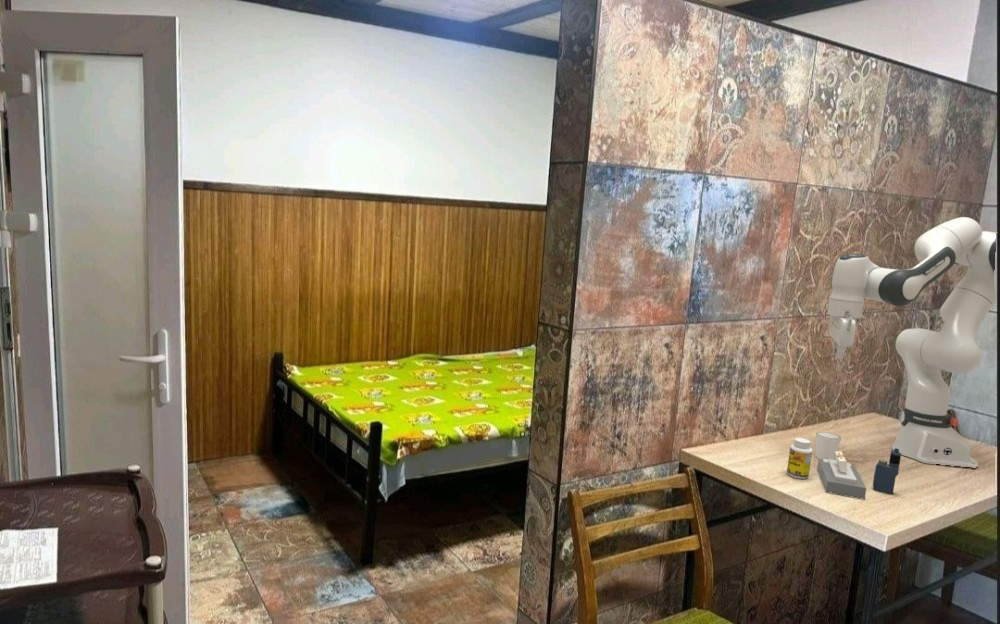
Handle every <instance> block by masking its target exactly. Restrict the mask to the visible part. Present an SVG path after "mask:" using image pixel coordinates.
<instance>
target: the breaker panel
mask: <svg viewBox="0 0 1000 624" xmlns="http://www.w3.org/2000/svg"><path fill="white" fill-rule="evenodd" d="M846 463H847V470H848V472H841V471H840V469H839V466H838V465H837V462H836V460H832V459H828V460H827V459H819V458H818V461H817V467H816V468H817V472H818V474H819V477H820V481H821V482H822V485H824V486H823V488H825V489H824V491H825V490H826V491H825V493H827V492H832V493H831V494H833V493H837V494H836V495H838V494H842V495H841V496H844V495H847V496H846V497H849V496H853V497H852V498H854V497H858V498H857V499H860V498H863V499H862V500H865V499H866V492H867V486H866V485H865V483H864V481H863V479H862V477H861V476H860V473H859V472H858V470H857V467H856V465H855V464H852V463H850V462H848V461H846Z"/></svg>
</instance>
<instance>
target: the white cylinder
mask: <svg viewBox="0 0 1000 624" xmlns="http://www.w3.org/2000/svg"><path fill="white" fill-rule="evenodd" d="M841 440H842V437H841V436H840V435H838V434H835V433H832V432H827V431H816V432H815V445H814V446H815V447H814V456H815V457H816V458H817V459H818V460H819V459H827V460H828V459H832V460H836V456H835V452H836V451H839V448H840V444H841Z"/></svg>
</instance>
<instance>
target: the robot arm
mask: <svg viewBox="0 0 1000 624" xmlns="http://www.w3.org/2000/svg"><path fill="white" fill-rule="evenodd" d="M996 233H997V232H995V231H988V230H987V231H986V230H982V227H981V225H980V224H979V222H977V220H975V219H973V218H971V217H966V216H961V217H960V216H959V217H957V218H952V219H950V220H947V221H945V222H943V223H940V224H938V225H936V226H934V227H933V228H931V229H929V230H927V231H925V232H924V233H923V234H921V235H920V236H919V237H918V238H917V239H916V240H915V243H914V255H915V258H916V259H917V261H918V262H919V263H918V264H916V265H915V266H913V267H912V268H909V269H907V268H906V269H894V268H887V267H880V266H879V265H877V264H876V263H874V262H872V261H871V260H870V259H869V256H868V255H867V254H863V253H848V254H847V253H846V254H843V255H840V256H839V257H838V259H837V261H836V263H835V266H834V269H833V273H832V278H831V280H832V281H831V286H832V290H831V294H830V295H829V299H828V301H829V302H828V307H827V315H829V320H828V321H829V322H828V323H829V325H828V334H829V336H830V338H831V339H833V345H832V346H833V349H832V350H833V351H832V355H834V356H835V358H836V359H837V360H844V357H845V353H846V350H847V348H853V346H854V343H855V336H856V325H857V319H862V317H863V311H864V303H865V299H866V300H870V301H871V300H872V301H875V302H881V303H885V304H889V305H892V306H896V307H906V306H908V305H910V304H912V303H913V302H914V301H915V300H916V299H917V298H918V297H919V295H920V294H921V293H922V292H923V290H925V289H926V288H927V287H928V286H930V285H931V284H932V283H934V282H935V281H937V280H938V279H939V278H940V277H942V276H943V275H945V274H946V273H947V272H948V271H949V270H950V269H951V268H952V267H953V266H954V264H955V265H961V266H965V267H967V271H966V274H965V275H964V276H963V277H962V278H961V279H960V281H958V283H956V286H955V287H954V288H953V290H952V291H951V292H950V294H949V295H948V297H947V298H946V300H945V301H944V303H943V304H942V306H940V309H939V314H940V317H941V319H942V320H943V321H944V323H943V324H942V325H943V326H942V328H941V329H940V331H935V330H931V329H925V328H906V329H903V330H902V331H901V332H900V333H899V334H898V335H897V338H896V339H895V349H896V352H897V353H898V355H899V356H900V357H901V359H902V361H903V363H904V367H905V371H906V376H907V389H906V397H905V404H904V406H903V407H902V410H901V415H900V427H899V430H898V433H897V436H896V439H895V440H894V443H893V444H892V446H891V449H892V451H894V449H895V448H896V449H899V452H900V453H901V456H905V457H907V458H911V459H913V460H916V461H918V462H921V463H924V464H928V465H936V464H940V465H939V466H945V465H951V466H950V467H954V466H961V467H960V468H962V467H977V466H978V467H979V463H978V461H977V460H976V459H975V458H974V457H973V456H971V447H970V444H969V442H968V441H967V439H965V438H964V437H963V436H962V435H961V434H959V432H958V431H957V430H955V429H954V428H953V427H952V426H954V427H955V426H958V425H959V420H958V419H957V418H955V417H952V415H950V414H948V408H949V402H950V396H951V388H950V387H949V385H948V384H947V383H946V381H945V379H944V378H943V376H942V373H941V372H942V371H944V372H946V373H954V374H968V373H971V372H972V371H973V370H975V369H976V367H978V365H979V363H980V362H981V357H982V356H981V350H980V348H979V346H978V344H977V333H978V330H979V328H980V325H981V324H982V322H983V321H984V319H985V318H986V316H987V315H988V313H989V311H991V309H992V308H993V306H994V304H995V303H996V301H995V288H994V287H995V286H994V270H995V252H996V242H995V239H996Z"/></svg>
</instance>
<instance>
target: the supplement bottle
mask: <svg viewBox="0 0 1000 624" xmlns="http://www.w3.org/2000/svg"><path fill="white" fill-rule="evenodd" d="M812 457H813V449H812V448H811V441H810V440H809V439H806V438H803V437H795V438H794V442H793V443H792V444H791V445H790V447H789V453H788V461H787V468H786V474H787V475H788V476H790V477H792V478H795V479H799V480H800V479H801V480H806V479H808V478H809V476H810V472H811V471H810V470H811V463H812Z"/></svg>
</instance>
